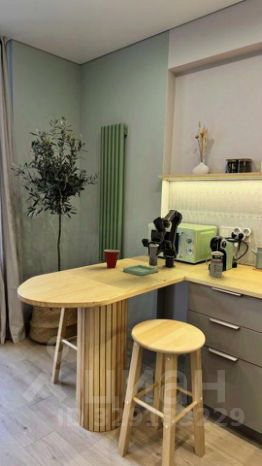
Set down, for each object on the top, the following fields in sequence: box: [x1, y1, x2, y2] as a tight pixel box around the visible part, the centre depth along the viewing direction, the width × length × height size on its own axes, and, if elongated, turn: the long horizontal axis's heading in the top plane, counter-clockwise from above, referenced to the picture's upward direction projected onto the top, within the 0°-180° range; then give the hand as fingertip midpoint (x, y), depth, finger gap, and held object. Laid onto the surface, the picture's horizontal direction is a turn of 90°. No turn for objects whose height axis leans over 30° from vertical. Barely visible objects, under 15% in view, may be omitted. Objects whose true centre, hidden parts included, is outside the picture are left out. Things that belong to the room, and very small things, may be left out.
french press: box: [205, 236, 224, 278], centre depth 205 cm, size 10×12×25 cm
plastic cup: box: [103, 249, 121, 269], centre depth 216 cm, size 11×11×12 cm
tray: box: [122, 264, 159, 277], centre depth 208 cm, size 16×16×2 cm
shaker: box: [148, 244, 159, 267], centre depth 196 cm, size 5×5×13 cm
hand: (152, 254), depth 195 cm, fingers closed on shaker, 5 cm apart
